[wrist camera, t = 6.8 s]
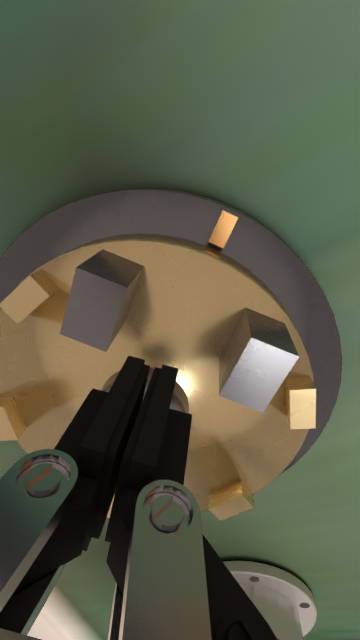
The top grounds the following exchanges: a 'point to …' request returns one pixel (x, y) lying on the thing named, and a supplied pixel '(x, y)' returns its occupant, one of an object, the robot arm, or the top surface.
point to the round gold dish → (161, 356)
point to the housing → (207, 229)
